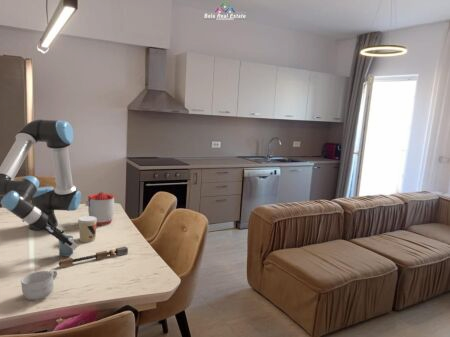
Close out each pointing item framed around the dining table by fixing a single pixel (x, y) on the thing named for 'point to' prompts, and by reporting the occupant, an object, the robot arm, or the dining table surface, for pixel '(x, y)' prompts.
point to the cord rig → (94, 256)
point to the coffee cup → (87, 228)
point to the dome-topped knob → (65, 247)
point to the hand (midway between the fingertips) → (73, 245)
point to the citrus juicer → (101, 207)
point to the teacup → (38, 284)
